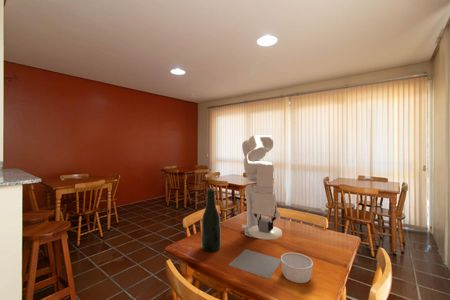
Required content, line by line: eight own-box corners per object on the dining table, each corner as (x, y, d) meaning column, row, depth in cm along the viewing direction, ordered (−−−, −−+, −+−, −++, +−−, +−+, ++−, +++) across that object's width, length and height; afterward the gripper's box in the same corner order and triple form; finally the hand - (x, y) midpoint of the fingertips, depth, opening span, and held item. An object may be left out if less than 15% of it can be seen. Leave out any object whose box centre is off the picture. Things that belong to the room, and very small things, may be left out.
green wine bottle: (198, 251, 114) (198, 189, 114) (205, 242, 125) (205, 186, 124) (217, 254, 112) (217, 190, 111) (223, 245, 122) (222, 186, 121)
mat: (228, 265, 100) (228, 265, 100) (245, 249, 116) (245, 249, 116) (268, 279, 90) (268, 278, 90) (282, 260, 105) (282, 259, 105)
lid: (243, 234, 97) (243, 221, 97) (257, 224, 110) (257, 213, 110) (274, 242, 89) (274, 228, 89) (286, 230, 102) (286, 218, 101)
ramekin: (317, 275, 93) (317, 259, 93) (305, 290, 83) (305, 272, 83) (288, 264, 102) (288, 249, 102) (274, 276, 92) (274, 260, 92)
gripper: (245, 189, 101) (245, 228, 101) (280, 193, 91) (280, 236, 92) (252, 186, 107) (252, 223, 107) (285, 190, 98) (286, 230, 98)
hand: (265, 228), depth 99 cm, fingers closed on lid, 4 cm apart
